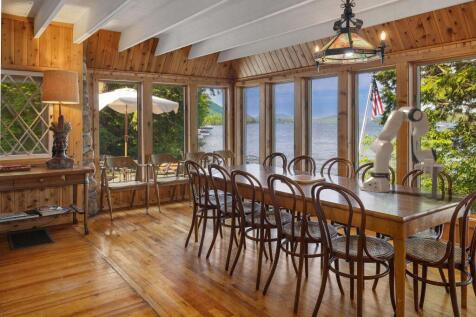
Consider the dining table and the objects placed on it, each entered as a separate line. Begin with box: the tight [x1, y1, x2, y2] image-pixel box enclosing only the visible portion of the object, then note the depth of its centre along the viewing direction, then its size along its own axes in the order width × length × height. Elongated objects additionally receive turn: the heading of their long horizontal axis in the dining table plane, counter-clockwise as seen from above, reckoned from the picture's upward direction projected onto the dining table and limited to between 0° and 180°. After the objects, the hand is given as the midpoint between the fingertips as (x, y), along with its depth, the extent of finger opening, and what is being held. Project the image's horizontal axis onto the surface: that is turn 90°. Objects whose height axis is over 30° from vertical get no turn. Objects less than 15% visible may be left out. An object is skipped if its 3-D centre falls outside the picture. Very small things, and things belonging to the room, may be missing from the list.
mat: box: [418, 192, 432, 197], centre depth 276 cm, size 8×8×1 cm
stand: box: [426, 166, 443, 200], centre depth 264 cm, size 9×11×22 cm
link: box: [422, 159, 433, 180], centre depth 284 cm, size 6×5×14 cm
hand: (428, 168), depth 284 cm, fingers closed on link, 6 cm apart
